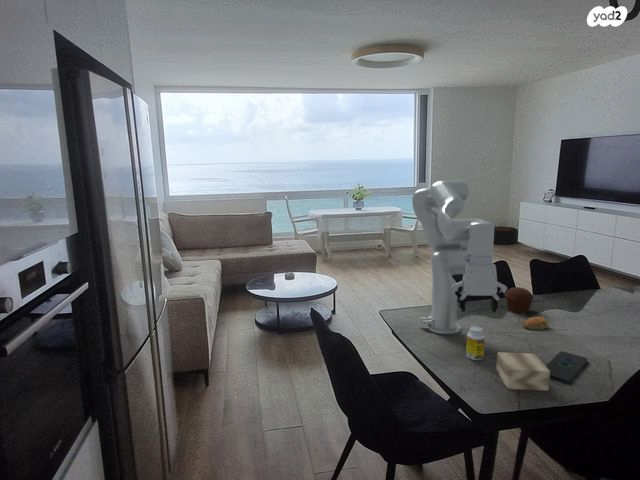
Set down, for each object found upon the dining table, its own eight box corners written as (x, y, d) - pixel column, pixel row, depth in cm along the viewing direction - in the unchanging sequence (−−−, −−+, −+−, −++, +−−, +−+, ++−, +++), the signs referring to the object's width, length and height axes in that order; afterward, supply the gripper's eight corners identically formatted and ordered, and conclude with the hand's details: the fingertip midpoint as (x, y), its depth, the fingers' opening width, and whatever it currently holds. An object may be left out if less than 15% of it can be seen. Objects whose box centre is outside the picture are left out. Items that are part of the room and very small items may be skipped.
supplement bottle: (476, 362, 133) (478, 333, 131) (462, 356, 138) (463, 327, 136) (487, 358, 136) (488, 329, 134) (472, 351, 141) (474, 324, 139)
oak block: (508, 388, 117) (509, 369, 116) (496, 370, 128) (497, 352, 127) (548, 390, 116) (550, 371, 115) (533, 371, 127) (534, 353, 126)
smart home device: (588, 358, 132) (570, 381, 119) (588, 362, 133) (569, 386, 119) (560, 350, 138) (539, 371, 125) (560, 354, 138) (539, 376, 125)
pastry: (531, 332, 157) (532, 322, 156) (517, 326, 163) (518, 316, 162) (550, 328, 160) (550, 319, 159) (535, 322, 166) (536, 313, 165)
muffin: (498, 309, 180) (500, 288, 179) (510, 304, 187) (511, 283, 186) (526, 317, 171) (527, 294, 170) (537, 310, 179) (538, 288, 177)
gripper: (454, 262, 128) (453, 314, 131) (512, 262, 126) (509, 315, 129) (450, 257, 135) (448, 306, 138) (504, 257, 133) (501, 307, 136)
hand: (477, 310), depth 134 cm, fingers open, 9 cm apart
